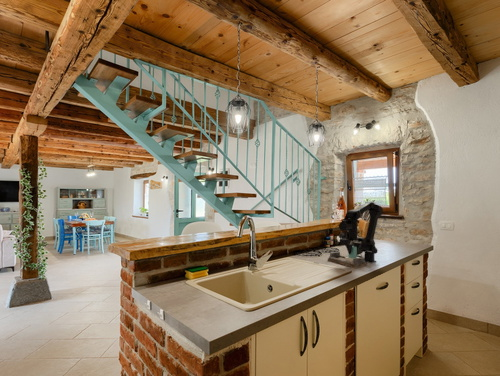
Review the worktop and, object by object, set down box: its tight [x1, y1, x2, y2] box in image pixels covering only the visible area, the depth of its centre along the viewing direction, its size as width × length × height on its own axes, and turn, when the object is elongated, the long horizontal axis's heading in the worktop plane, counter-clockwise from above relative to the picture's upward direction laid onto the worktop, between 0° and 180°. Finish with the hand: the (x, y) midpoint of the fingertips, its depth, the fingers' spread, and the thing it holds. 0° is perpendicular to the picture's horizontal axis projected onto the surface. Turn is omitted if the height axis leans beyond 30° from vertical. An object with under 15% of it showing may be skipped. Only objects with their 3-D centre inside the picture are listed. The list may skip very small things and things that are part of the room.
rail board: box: [327, 251, 368, 269], centre depth 188 cm, size 12×22×5 cm, turn 29°
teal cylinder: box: [345, 246, 360, 263], centre depth 183 cm, size 7×6×10 cm
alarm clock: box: [351, 233, 364, 257], centre depth 210 cm, size 11×5×16 cm, turn 84°
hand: (352, 253), depth 183 cm, fingers open, 5 cm apart
